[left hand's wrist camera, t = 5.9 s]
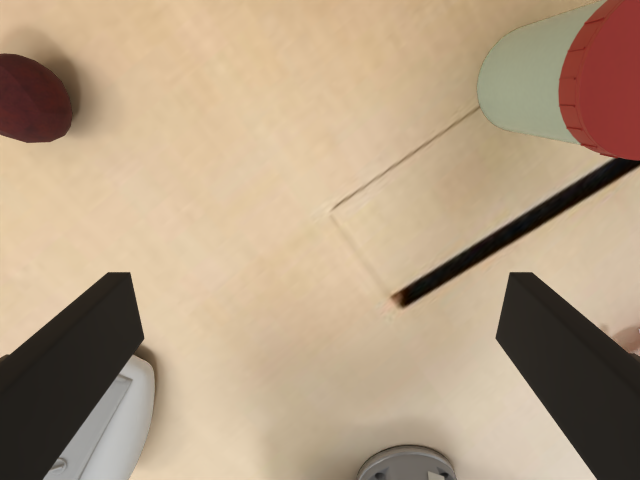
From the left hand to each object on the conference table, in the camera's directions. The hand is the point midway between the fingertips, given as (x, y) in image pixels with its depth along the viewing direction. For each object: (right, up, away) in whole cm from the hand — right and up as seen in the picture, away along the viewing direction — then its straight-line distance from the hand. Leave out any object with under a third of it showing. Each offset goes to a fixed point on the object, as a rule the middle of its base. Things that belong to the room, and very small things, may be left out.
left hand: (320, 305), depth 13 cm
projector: (-31, -20, +38) cm, 53 cm away
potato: (-27, +16, +24) cm, 39 cm away
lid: (+20, +12, +9) cm, 25 cm away
